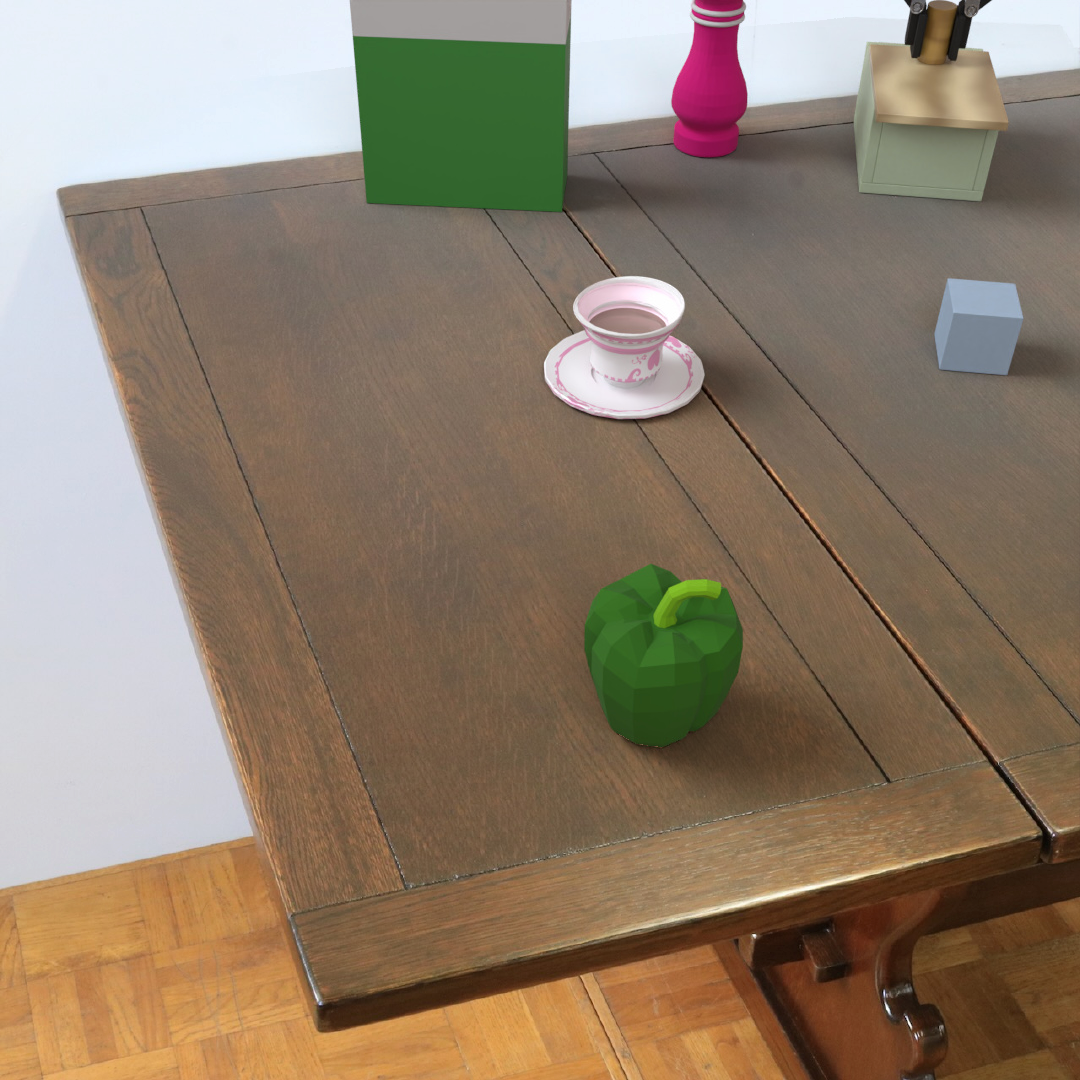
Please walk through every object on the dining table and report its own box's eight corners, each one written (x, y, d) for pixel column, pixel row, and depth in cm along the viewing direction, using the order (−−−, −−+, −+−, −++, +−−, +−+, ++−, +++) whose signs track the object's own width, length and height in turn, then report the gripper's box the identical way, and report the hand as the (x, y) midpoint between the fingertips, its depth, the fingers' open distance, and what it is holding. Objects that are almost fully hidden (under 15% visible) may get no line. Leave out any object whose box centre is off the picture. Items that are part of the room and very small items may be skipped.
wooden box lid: (986, 59, 125) (1001, -4, 121) (1006, 131, 113) (1023, 64, 109) (868, 52, 126) (879, -11, 122) (875, 122, 114) (888, 55, 110)
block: (999, 339, 103) (1015, 283, 100) (1007, 375, 100) (1023, 318, 96) (934, 334, 104) (947, 277, 100) (939, 369, 100) (953, 312, 97)
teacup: (634, 443, 93) (639, 369, 89) (510, 377, 99) (509, 304, 95) (736, 373, 99) (745, 301, 95) (613, 314, 105) (617, 245, 101)
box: (964, 128, 133) (983, 48, 127) (981, 201, 121) (1002, 117, 115) (853, 120, 134) (866, 41, 128) (858, 192, 122) (874, 108, 117)
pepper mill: (723, 124, 133) (745, -89, 120) (754, 154, 128) (781, -64, 114) (656, 133, 131) (671, -81, 118) (685, 164, 126) (704, -57, 113)
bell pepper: (557, 741, 72) (560, 609, 66) (612, 642, 78) (620, 512, 72) (703, 791, 70) (722, 660, 63) (749, 686, 76) (770, 555, 69)
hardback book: (366, 202, 119) (342, -80, 104) (380, 166, 125) (360, -107, 109) (562, 211, 118) (568, -72, 103) (567, 174, 124) (573, -100, 108)
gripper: (1071, -172, 112) (1017, 44, 124) (877, -182, 114) (842, 33, 126) (1085, -149, 107) (1027, 76, 119) (880, -159, 108) (844, 63, 120)
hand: (932, 52), depth 122 cm, fingers closed on wooden box lid, 2 cm apart
